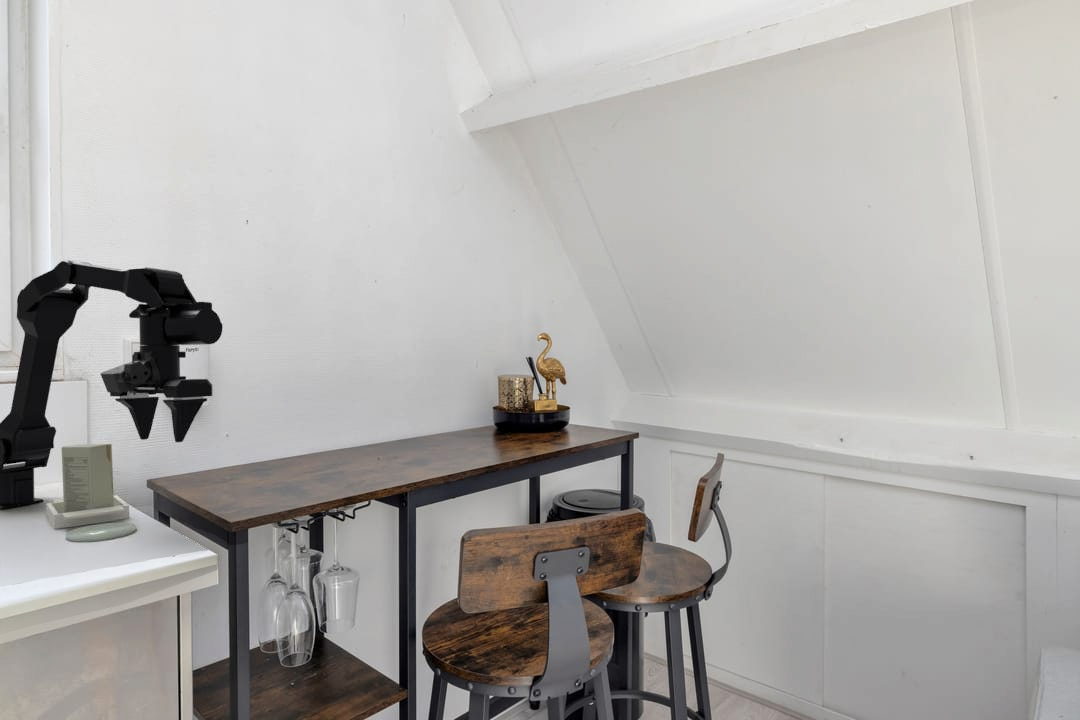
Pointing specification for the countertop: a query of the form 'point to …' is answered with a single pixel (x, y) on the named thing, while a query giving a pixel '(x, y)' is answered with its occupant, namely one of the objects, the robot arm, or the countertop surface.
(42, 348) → the robot arm
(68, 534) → the coaster
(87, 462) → the skincare box
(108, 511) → the white rectangular tray
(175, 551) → the countertop surface
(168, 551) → the countertop surface
